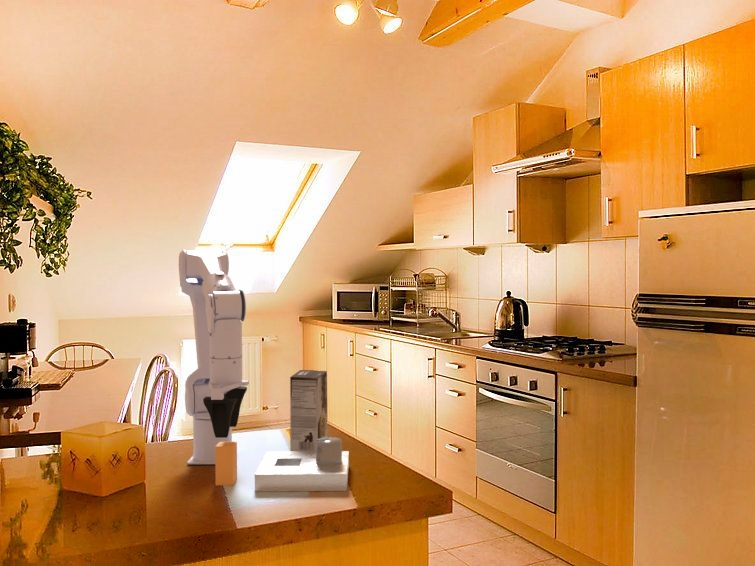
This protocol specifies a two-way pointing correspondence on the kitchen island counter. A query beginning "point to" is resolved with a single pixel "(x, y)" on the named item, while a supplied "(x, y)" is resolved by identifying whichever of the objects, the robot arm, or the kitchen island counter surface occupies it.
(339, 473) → the white base platform
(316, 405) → the coffee box
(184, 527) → the kitchen island counter surface
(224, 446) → the orange rectangular block
